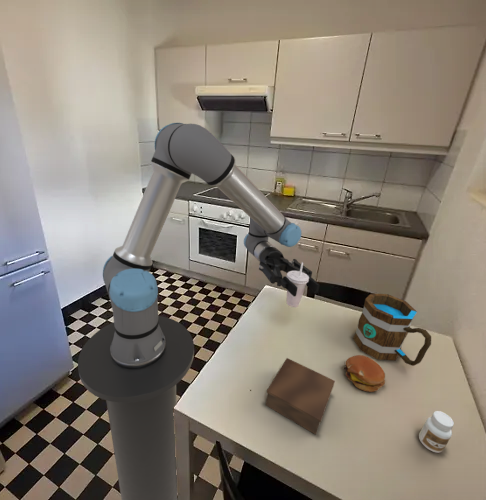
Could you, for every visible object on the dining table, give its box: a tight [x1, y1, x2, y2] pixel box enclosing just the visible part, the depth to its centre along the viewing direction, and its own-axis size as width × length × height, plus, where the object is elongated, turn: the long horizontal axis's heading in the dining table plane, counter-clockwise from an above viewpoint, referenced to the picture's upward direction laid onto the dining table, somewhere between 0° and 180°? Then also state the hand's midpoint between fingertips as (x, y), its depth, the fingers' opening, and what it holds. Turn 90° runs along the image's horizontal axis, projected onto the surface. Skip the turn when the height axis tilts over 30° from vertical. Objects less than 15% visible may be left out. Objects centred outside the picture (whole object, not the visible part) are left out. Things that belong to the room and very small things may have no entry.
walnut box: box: [265, 357, 336, 436], centre depth 67 cm, size 12×12×5 cm
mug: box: [352, 292, 432, 367], centre depth 82 cm, size 20×14×15 cm
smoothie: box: [285, 261, 309, 308], centre depth 82 cm, size 6×6×14 cm
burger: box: [343, 354, 386, 393], centre depth 74 cm, size 10×9×5 cm
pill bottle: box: [418, 410, 455, 454], centre depth 58 cm, size 4×4×8 cm
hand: (306, 290), depth 77 cm, fingers closed on smoothie, 6 cm apart
